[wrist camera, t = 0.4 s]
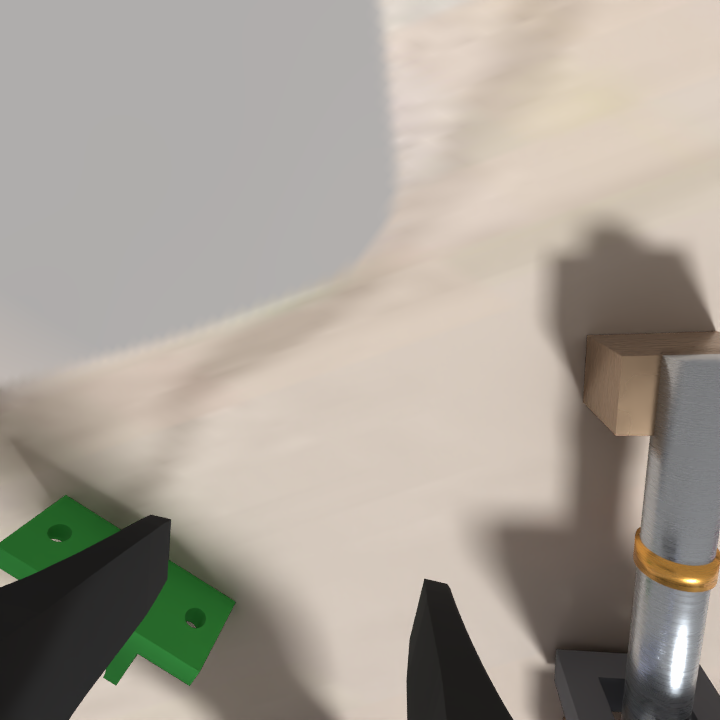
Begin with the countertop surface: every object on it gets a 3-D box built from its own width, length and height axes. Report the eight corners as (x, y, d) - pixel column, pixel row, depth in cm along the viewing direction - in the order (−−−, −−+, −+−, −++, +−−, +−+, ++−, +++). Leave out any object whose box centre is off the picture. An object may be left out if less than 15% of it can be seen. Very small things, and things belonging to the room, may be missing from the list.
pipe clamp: (46, 538, 27) (-29, 596, 22) (69, 492, 26) (-6, 544, 21) (208, 642, 27) (165, 720, 23) (237, 600, 26) (198, 674, 22)
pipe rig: (658, 768, 25) (713, 893, 20) (560, 759, 26) (591, 878, 21) (716, 331, 19) (815, 362, 14) (587, 335, 20) (639, 366, 15)
